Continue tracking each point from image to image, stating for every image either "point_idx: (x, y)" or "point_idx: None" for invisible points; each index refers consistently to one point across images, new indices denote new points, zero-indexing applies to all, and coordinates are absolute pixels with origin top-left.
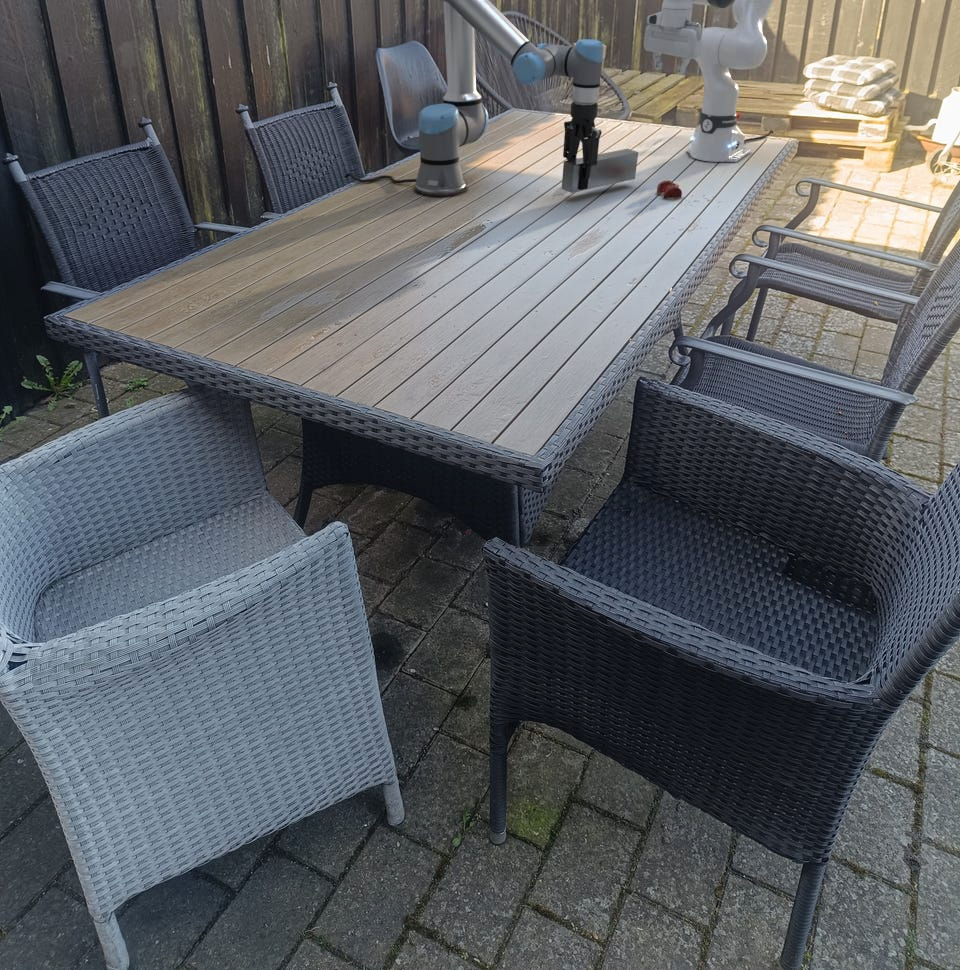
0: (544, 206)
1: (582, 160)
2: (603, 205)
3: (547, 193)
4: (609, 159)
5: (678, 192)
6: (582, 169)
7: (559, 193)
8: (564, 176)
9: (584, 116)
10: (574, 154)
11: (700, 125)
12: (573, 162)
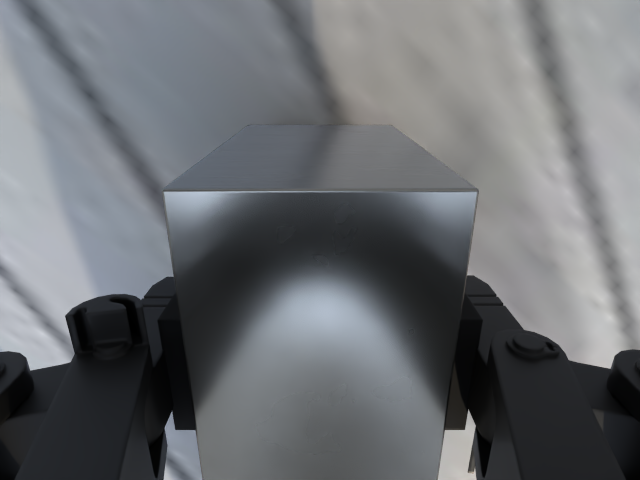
0: None
1: (317, 455)
2: (92, 262)
3: (546, 123)
4: None
5: None
6: (170, 302)
7: (481, 197)
8: (381, 143)
9: None
10: (489, 478)
11: None
12: (309, 286)
